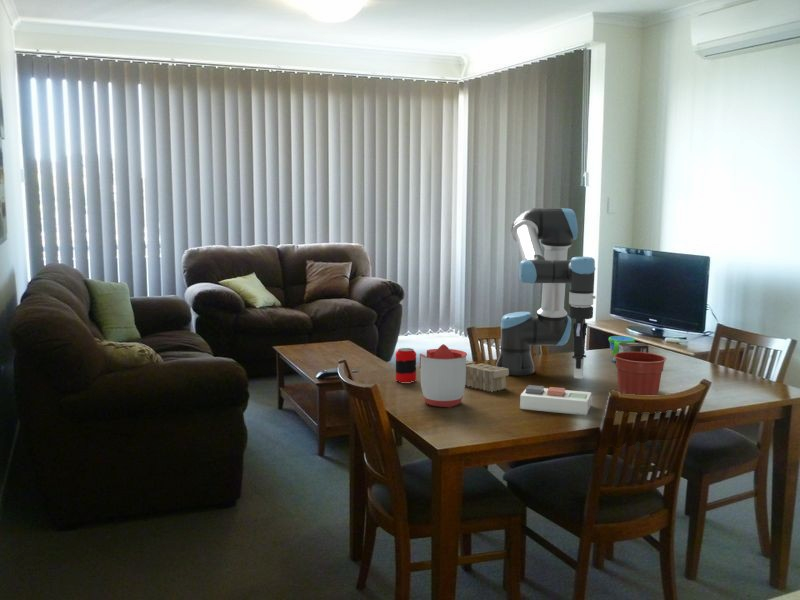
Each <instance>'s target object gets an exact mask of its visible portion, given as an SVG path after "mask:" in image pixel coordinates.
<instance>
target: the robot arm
mask: <svg viewBox="0 0 800 600" xmlns="http://www.w3.org/2000/svg"><path fill="white" fill-rule="evenodd" d="M510 229H511V232H510V233H511V236H512V238H513V240H514V241H515V242H516V243H517V247H518V251H519V253H520V258H521V261H519V263H518V279H519V281H520V282H521V283H522V284H523V283H525V284H530V285H531V284H542V291H541V306H540V308H539V309H538V310H537V311H536V315H532V313H531V311H516V312H510V313H506V314H504V315H503V316H501V317H502V318H501V321H500V322H501V323H500V352H499V354H498V357H497V361H496V364H495V366H496V367H504V368H507V369H509V375H508V376H528V375H533V374H534V373H535V364H534V361H533V358H532V355H531V346H549V347H550V346H553V347H557V346H564V345H567V343H568V341H569V340H570V336H571V332H572V319H574V320H575V322H574V323H573V356H572V357H571V358H572V359H574V360H573V361H574V362H573V363H574V364H573V366H574V367H573V378H574V379H582V380H583V378H584V361H585V358H587V355H586V353H585V348H586V336H587V329H588V323H586V320H590V319H592V318H593V317H594V307H593V305H594V299H596V295H594V293H595V273H596V264H595V263H596V262H595V258H594V257H591V256H574V257H571V259H568V249H569V248H571V246H573V241H575V240H577V239H578V236H579V235H578V234H579V233H578V231H579V227H578V219H577V216H576V213H575V211H574V210H573V209H571V208H566V207H565V208H564V207H563V208H562V207H549V208H548V207H545V208H542V207H541V208H536V207H535V208H532V207H531V208H529V209H526V210H524V211H522V212H521V213H519V214H518V215H517V216H516V217H515V219H514V220H513V222H512V224H511V228H510ZM542 247H543V248H544V251H543V248H542ZM566 284H569V293H568V294H569V295H568V304H569V306H568V312H567V311H566V309H565V296H566V295H565V294H566V293H565V292H566Z"/></svg>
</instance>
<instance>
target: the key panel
mask: <svg viewBox="0 0 800 600" xmlns="http://www.w3.org/2000/svg"><path fill="white" fill-rule="evenodd" d="M548 389H549V388H548V387H544V392H543V394H542V395H539V394H528V393H526V388H525V389H524V390H523V391H522V392H521V393H520V397H519V400H520V401H519V402H520V403H519V409H520V410H528V411H539V412H549V413H558V414H559V413H560V414H567V415H568V414H570V415H580V416H588V413H589V411H590V409H591V406H592V392H591V391H590V392H589V391H580V390H569V389H565V395H564V397H561V396H550V395H547V390H548ZM571 394H583V395H587V397H586V399H583V398H572V397H570V395H571Z"/></svg>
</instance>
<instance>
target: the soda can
mask: <svg viewBox="0 0 800 600" xmlns="http://www.w3.org/2000/svg"><path fill="white" fill-rule="evenodd" d="M416 364H417V352H416V351H415V350H414V348H411V347H401V348H398V349H397V351H396V352H395V381H396V380H397V381H400V382H411V381H415V380H416V381H417V367H416ZM397 381H396V382H397ZM416 381H415V382H416Z"/></svg>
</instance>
